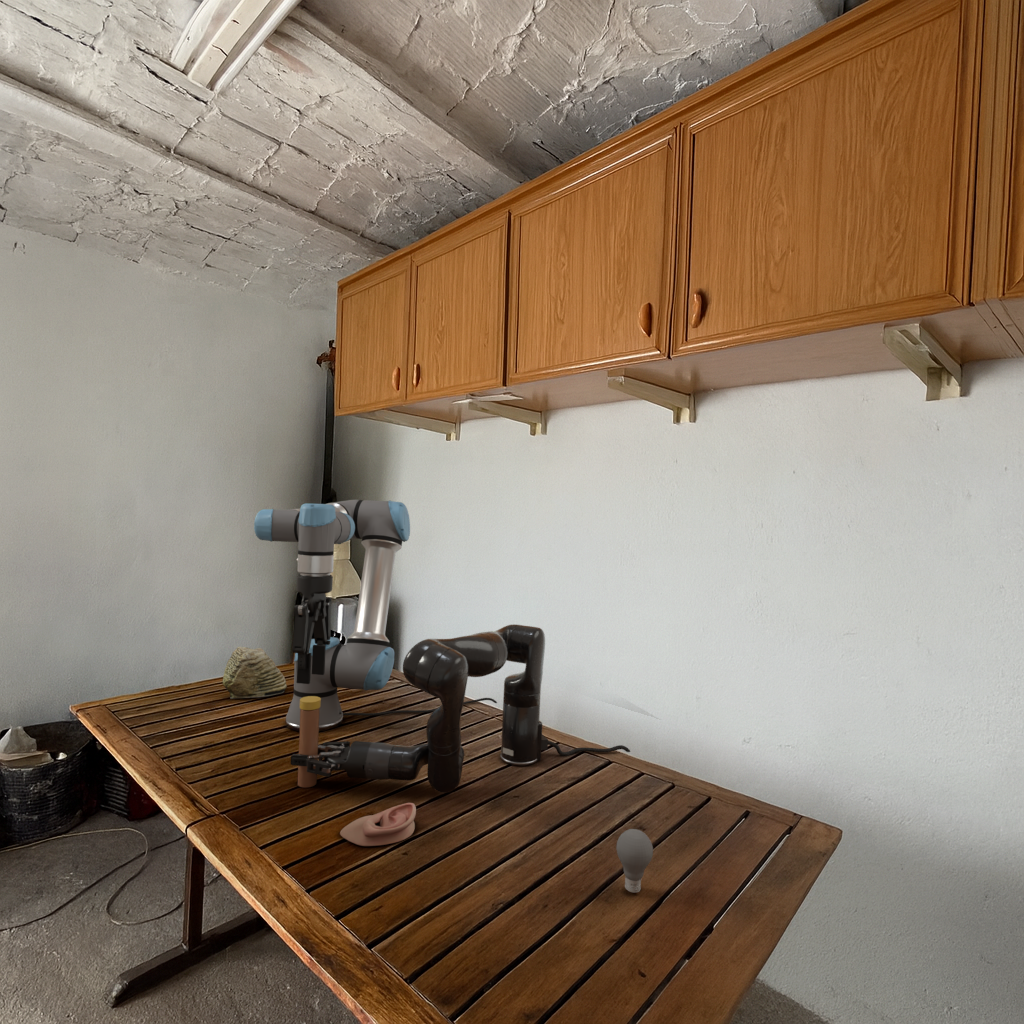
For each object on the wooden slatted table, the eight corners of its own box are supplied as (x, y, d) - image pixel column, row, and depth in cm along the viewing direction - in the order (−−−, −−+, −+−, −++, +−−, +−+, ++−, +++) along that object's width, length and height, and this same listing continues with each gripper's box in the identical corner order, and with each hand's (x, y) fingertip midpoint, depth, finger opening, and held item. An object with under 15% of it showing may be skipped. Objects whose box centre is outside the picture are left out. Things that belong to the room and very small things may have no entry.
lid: (309, 711, 136) (309, 703, 136) (295, 707, 139) (295, 699, 139) (324, 706, 140) (325, 698, 140) (311, 702, 142) (311, 694, 142)
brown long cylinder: (306, 789, 137) (309, 705, 137) (293, 784, 139) (296, 701, 139) (320, 782, 140) (323, 700, 140) (308, 777, 142) (311, 697, 142)
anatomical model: (332, 820, 116) (360, 792, 128) (332, 841, 116) (359, 811, 128) (400, 830, 114) (422, 801, 125) (400, 852, 114) (421, 821, 125)
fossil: (218, 695, 195) (220, 647, 195) (278, 685, 208) (279, 640, 207) (228, 703, 189) (230, 653, 188) (289, 692, 201) (290, 645, 201)
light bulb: (610, 879, 108) (613, 822, 108) (644, 879, 109) (647, 822, 109) (619, 902, 102) (622, 840, 102) (655, 901, 103) (658, 840, 103)
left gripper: (318, 568, 149) (314, 666, 149) (276, 577, 130) (272, 689, 130) (348, 570, 148) (344, 668, 148) (311, 580, 129) (307, 692, 129)
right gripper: (381, 731, 146) (308, 726, 147) (363, 756, 131) (282, 750, 132) (380, 764, 146) (307, 759, 147) (361, 792, 132) (281, 786, 133)
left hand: (310, 678), depth 139 cm, fingers open, 7 cm apart
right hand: (296, 755), depth 140 cm, fingers closed on brown long cylinder, 4 cm apart
